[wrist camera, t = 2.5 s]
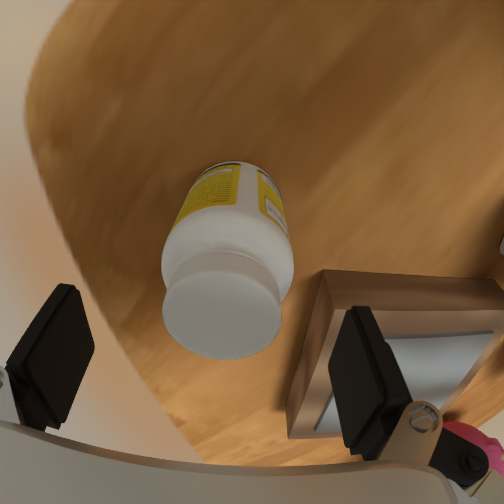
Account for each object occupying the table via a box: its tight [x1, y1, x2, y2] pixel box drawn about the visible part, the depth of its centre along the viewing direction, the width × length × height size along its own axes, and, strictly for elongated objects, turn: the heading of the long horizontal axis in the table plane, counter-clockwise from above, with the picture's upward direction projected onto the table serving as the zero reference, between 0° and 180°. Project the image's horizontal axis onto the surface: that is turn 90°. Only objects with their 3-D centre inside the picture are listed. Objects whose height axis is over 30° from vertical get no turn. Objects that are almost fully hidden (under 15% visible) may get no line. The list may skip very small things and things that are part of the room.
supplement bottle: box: [161, 161, 294, 360], centre depth 15 cm, size 5×5×10 cm
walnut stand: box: [285, 270, 504, 439], centre depth 24 cm, size 16×16×4 cm
